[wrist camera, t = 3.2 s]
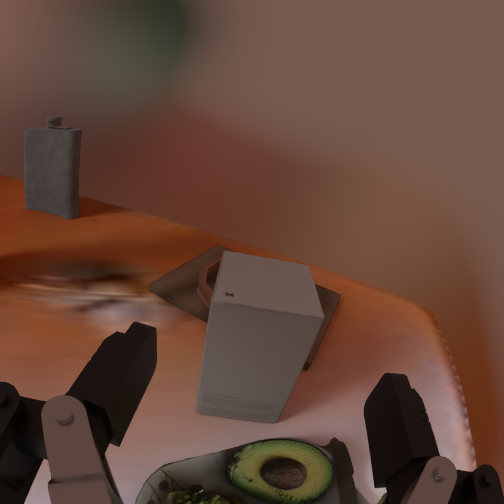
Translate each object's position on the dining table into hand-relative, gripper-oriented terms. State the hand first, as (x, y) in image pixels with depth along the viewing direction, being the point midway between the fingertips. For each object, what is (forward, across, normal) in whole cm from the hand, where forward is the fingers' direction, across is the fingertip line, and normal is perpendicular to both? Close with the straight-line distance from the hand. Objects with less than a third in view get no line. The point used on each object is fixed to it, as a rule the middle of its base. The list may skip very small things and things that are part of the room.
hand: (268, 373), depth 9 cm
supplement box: (+12, 0, +16) cm, 19 cm away
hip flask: (+40, +46, +15) cm, 62 cm away
